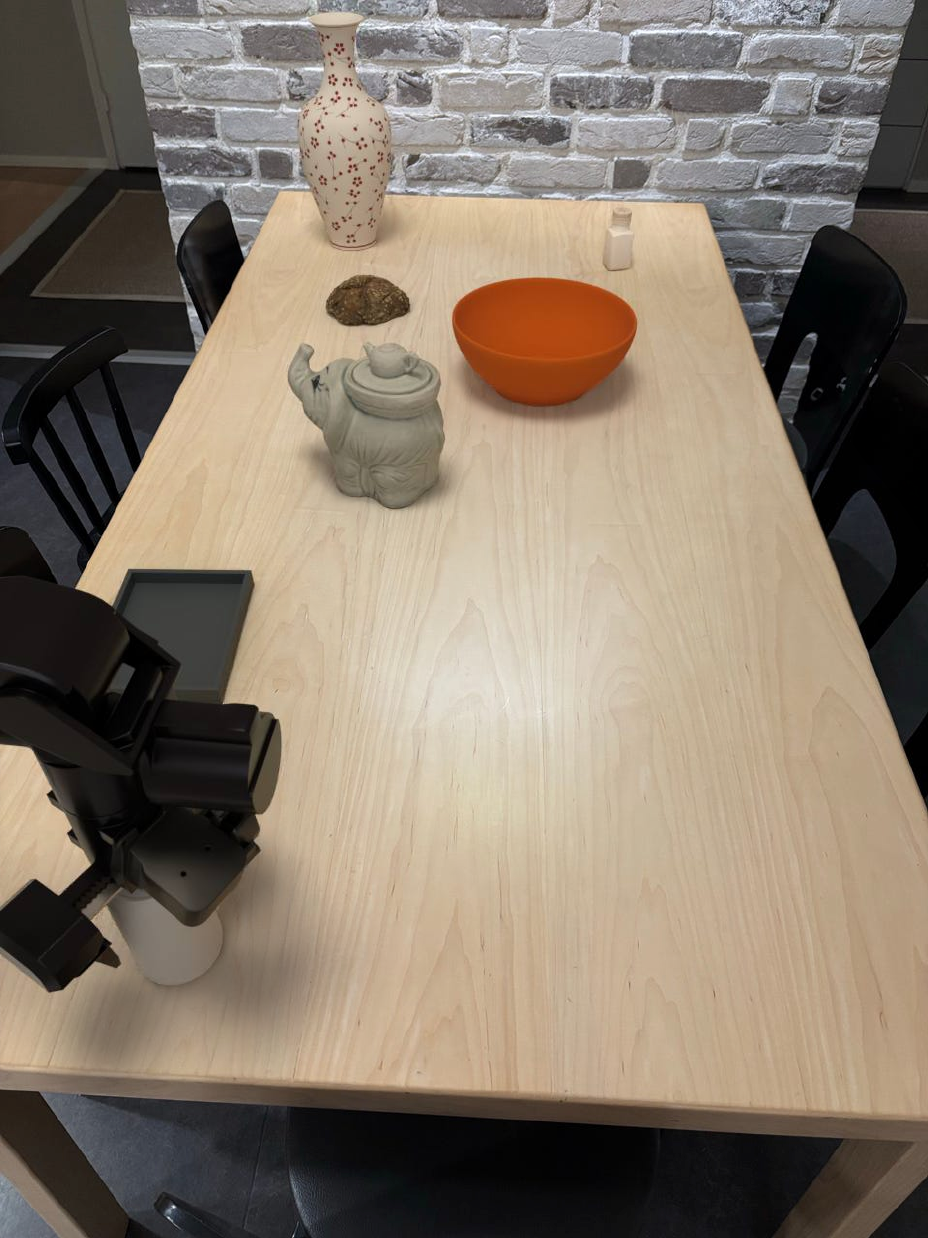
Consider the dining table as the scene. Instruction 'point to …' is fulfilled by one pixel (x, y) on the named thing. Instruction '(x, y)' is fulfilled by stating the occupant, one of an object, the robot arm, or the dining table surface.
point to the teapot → (375, 420)
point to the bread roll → (367, 300)
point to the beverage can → (165, 939)
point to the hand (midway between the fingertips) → (164, 910)
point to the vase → (345, 140)
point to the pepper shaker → (619, 240)
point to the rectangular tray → (188, 623)
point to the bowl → (543, 337)
